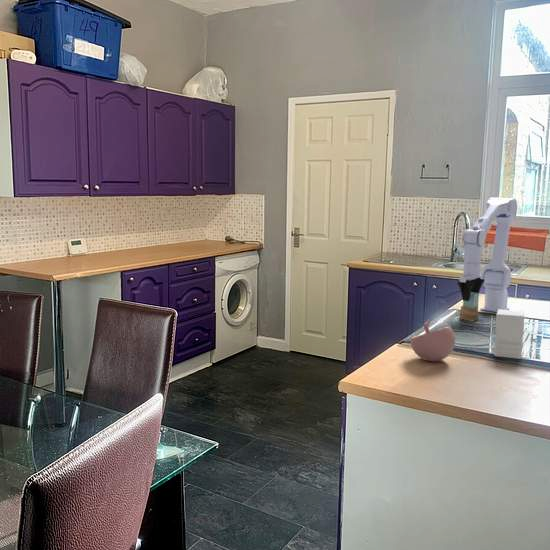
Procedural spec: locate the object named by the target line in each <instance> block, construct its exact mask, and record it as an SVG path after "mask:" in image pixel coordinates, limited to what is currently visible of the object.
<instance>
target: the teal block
mask: <svg viewBox="0 0 550 550" xmlns="http://www.w3.org/2000/svg"><path fill="white" fill-rule="evenodd" d="M479 297H480V292H479V293H475V292H471V294H470V299H469V301H463V300H462V306H464V307H470V308H475V307H478V308H479Z"/></svg>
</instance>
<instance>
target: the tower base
mask: <svg viewBox="0 0 550 550" xmlns="http://www.w3.org/2000/svg"><path fill="white" fill-rule="evenodd" d="M479 316H480V312H478V313H477V314H475V315H471V314H462V313H461V312H459V320H462V319H466V320H465V321H468V320H471V321H470V322H474V321H473V320H475V321H477V320H476V319H478V320H479V318H480V317H479Z"/></svg>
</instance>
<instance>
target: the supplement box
mask: <svg viewBox="0 0 550 550" xmlns="http://www.w3.org/2000/svg"><path fill="white" fill-rule="evenodd" d="M495 317H496V318H495V319H496V320H495V337H494V340H495V341H494V357H500V358H509V359H517V360H522V355H523V342H524V326H525V311H524V310H511V309H508V310H501V309H498V312H496V314H495Z"/></svg>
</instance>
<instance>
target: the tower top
mask: <svg viewBox="0 0 550 550" xmlns="http://www.w3.org/2000/svg"><path fill="white" fill-rule="evenodd" d="M460 313H462V314H471V315H475V314H477V313H479V306H478V307H475V308H470V307H464V306H463V305H461V306H460Z"/></svg>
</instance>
